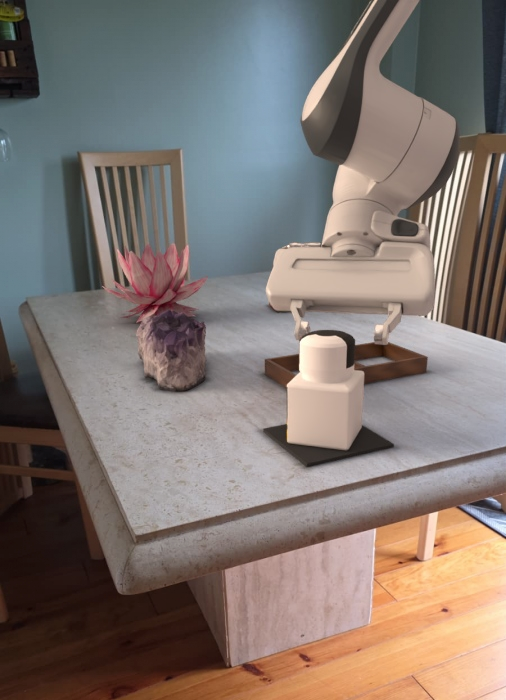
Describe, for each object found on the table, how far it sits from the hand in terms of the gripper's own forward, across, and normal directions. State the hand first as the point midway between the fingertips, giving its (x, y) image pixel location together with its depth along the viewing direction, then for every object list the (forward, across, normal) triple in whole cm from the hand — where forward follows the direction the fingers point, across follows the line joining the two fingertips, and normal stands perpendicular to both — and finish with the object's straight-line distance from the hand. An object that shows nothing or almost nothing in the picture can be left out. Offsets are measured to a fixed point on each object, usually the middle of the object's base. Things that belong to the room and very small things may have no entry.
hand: (339, 340), depth 73 cm
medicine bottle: (+11, 0, +3) cm, 12 cm away
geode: (-2, -29, +17) cm, 33 cm away
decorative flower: (-26, -48, +41) cm, 68 cm away
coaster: (+12, 0, +3) cm, 12 cm away
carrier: (-6, -3, +21) cm, 22 cm away
